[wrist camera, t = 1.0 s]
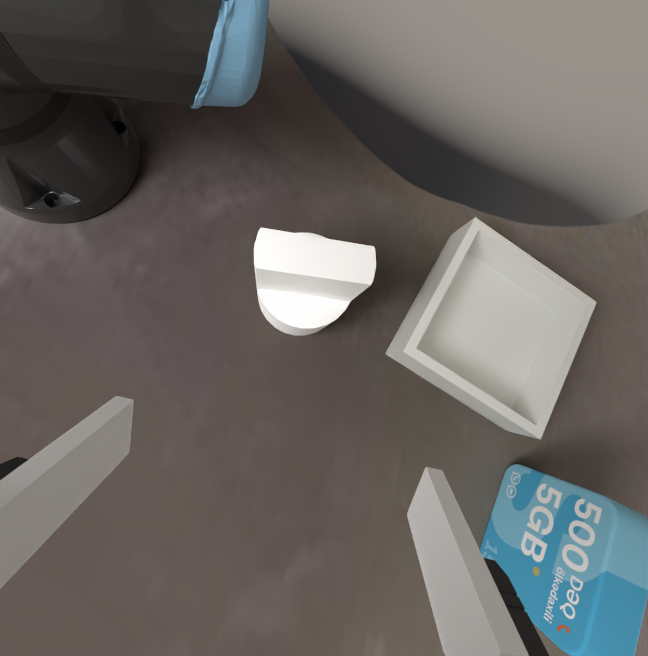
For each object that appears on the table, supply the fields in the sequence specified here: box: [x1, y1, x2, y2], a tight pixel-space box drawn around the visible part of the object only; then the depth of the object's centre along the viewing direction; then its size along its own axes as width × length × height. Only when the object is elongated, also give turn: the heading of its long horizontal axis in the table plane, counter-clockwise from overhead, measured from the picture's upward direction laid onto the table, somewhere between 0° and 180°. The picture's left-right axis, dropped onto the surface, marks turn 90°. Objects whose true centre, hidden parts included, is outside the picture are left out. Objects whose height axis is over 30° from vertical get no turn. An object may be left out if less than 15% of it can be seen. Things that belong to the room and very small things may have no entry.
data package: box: [480, 464, 648, 656], centre depth 30 cm, size 12×4×12 cm, turn 154°
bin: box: [385, 217, 597, 440], centre depth 36 cm, size 17×17×5 cm
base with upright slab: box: [254, 228, 376, 336], centre depth 29 cm, size 9×9×12 cm
